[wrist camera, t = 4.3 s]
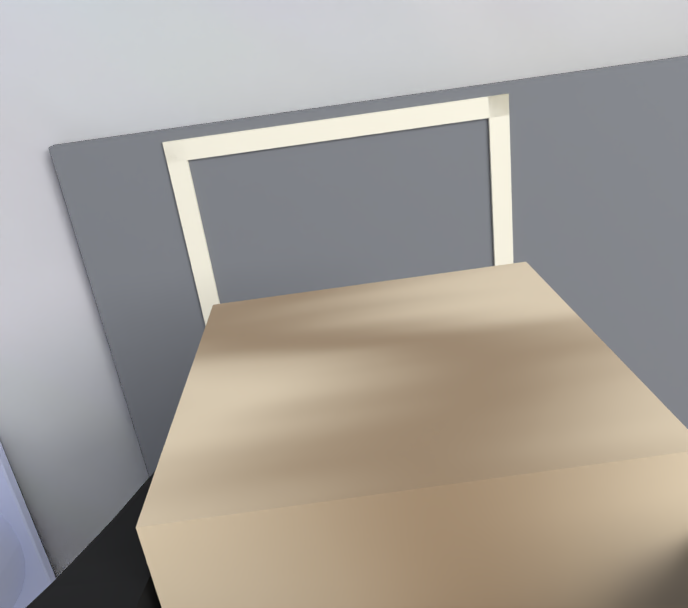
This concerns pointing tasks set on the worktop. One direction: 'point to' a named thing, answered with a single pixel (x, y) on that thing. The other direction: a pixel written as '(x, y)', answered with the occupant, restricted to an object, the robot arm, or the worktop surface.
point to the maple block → (417, 456)
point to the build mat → (394, 214)
